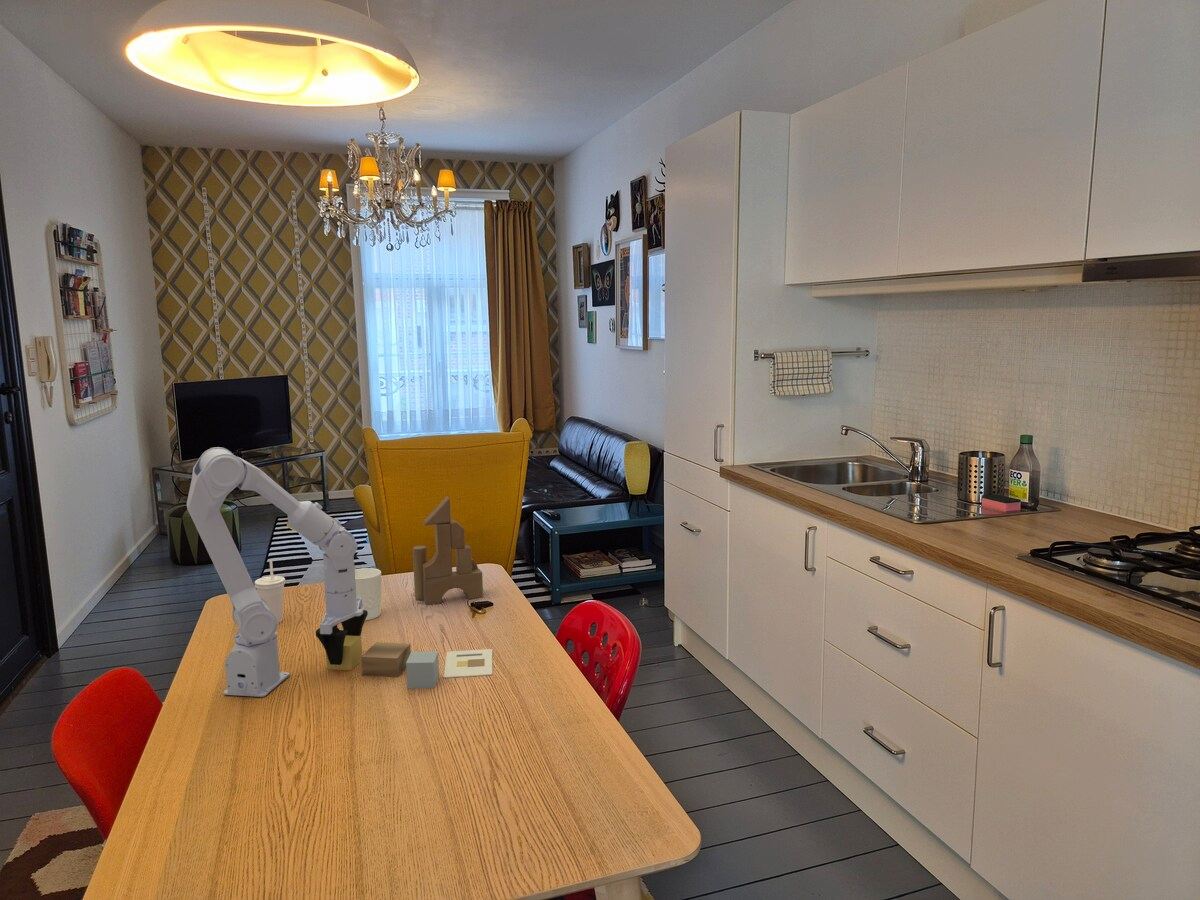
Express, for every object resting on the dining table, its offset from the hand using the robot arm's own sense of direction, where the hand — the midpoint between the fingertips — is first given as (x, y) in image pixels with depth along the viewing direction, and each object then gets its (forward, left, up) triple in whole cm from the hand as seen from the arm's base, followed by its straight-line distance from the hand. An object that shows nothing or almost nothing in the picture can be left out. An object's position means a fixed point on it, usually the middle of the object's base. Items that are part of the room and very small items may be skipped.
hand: (344, 655), depth 160 cm
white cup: (+26, +7, -2) cm, 27 cm away
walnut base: (-1, -9, -2) cm, 9 cm away
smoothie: (+20, +26, -2) cm, 33 cm away
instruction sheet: (+3, -24, -2) cm, 24 cm away
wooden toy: (+40, -8, -2) cm, 41 cm away
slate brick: (-6, -18, -2) cm, 19 cm away
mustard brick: (0, 0, -2) cm, 2 cm away
